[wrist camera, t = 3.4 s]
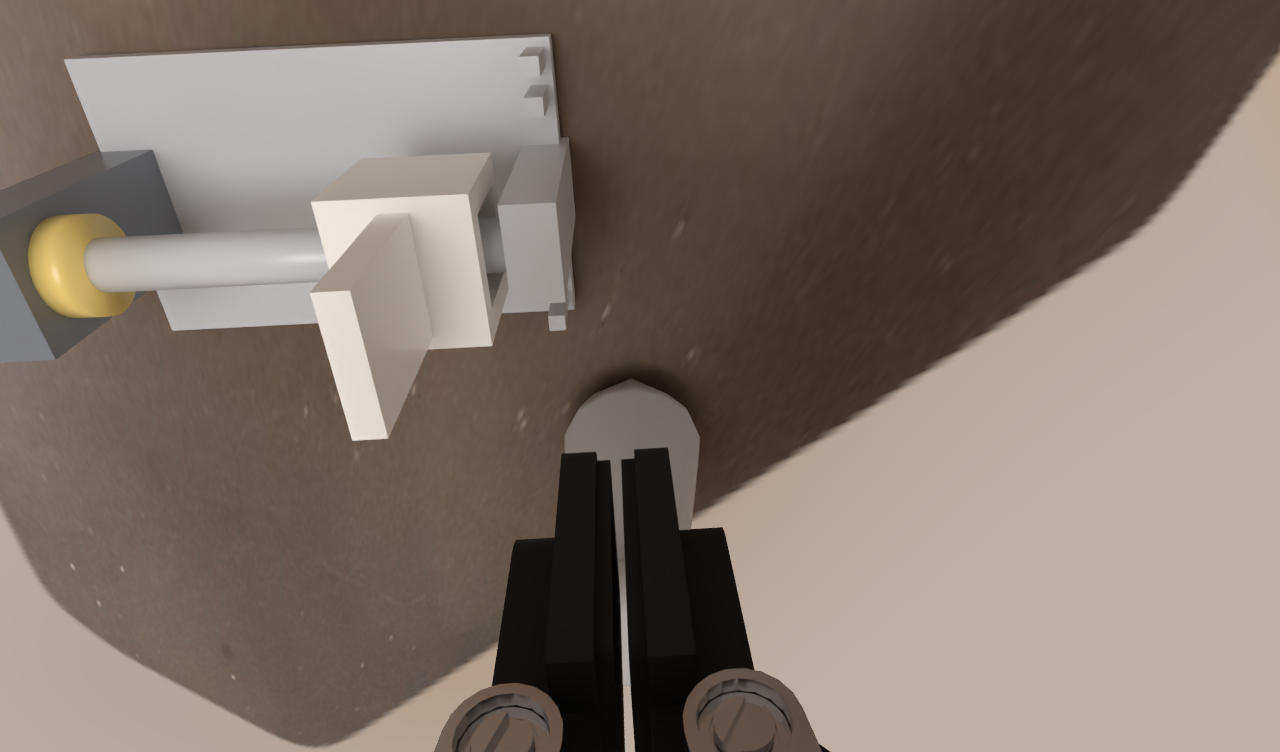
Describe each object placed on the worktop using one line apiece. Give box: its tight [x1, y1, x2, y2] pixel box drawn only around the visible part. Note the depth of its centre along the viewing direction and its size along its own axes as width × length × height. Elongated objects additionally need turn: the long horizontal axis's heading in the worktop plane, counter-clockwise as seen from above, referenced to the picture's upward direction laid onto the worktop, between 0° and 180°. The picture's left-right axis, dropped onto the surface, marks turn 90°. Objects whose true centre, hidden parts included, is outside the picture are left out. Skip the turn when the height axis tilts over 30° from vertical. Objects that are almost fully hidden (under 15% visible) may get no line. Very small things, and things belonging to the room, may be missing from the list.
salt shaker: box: [565, 378, 700, 686], centre depth 28 cm, size 6×6×13 cm
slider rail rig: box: [0, 33, 576, 363], centre depth 24 cm, size 16×10×9 cm, turn 92°
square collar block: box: [310, 152, 509, 441], centre depth 20 cm, size 4×4×9 cm
